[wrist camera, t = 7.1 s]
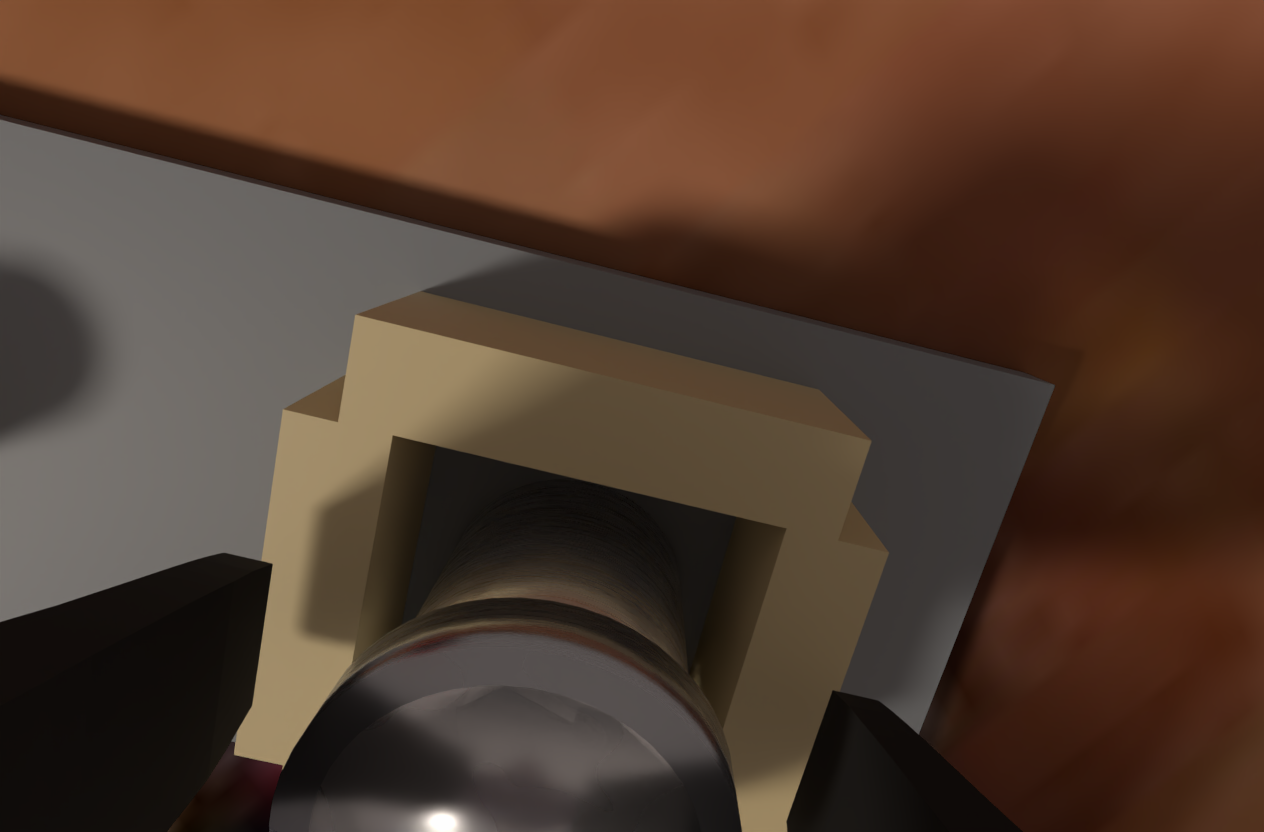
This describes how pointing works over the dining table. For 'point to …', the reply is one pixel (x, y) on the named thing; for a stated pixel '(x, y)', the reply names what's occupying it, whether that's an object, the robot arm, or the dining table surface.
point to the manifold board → (472, 437)
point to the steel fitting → (525, 691)
